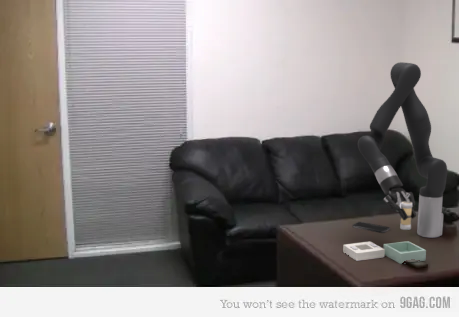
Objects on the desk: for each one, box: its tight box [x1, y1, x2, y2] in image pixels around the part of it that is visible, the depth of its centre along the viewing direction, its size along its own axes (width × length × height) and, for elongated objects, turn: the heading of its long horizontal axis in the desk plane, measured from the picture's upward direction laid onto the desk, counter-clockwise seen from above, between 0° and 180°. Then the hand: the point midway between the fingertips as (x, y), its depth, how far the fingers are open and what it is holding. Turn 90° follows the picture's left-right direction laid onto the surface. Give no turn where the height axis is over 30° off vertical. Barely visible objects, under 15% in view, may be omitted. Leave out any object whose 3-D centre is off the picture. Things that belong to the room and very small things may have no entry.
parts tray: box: [383, 240, 427, 265], centre depth 215 cm, size 11×11×4 cm
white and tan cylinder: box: [399, 200, 412, 231], centre depth 213 cm, size 4×4×10 cm
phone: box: [352, 221, 391, 234], centre depth 251 cm, size 8×1×15 cm
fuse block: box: [342, 241, 385, 262], centre depth 218 cm, size 12×10×3 cm
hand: (410, 218), depth 211 cm, fingers closed on white and tan cylinder, 3 cm apart
